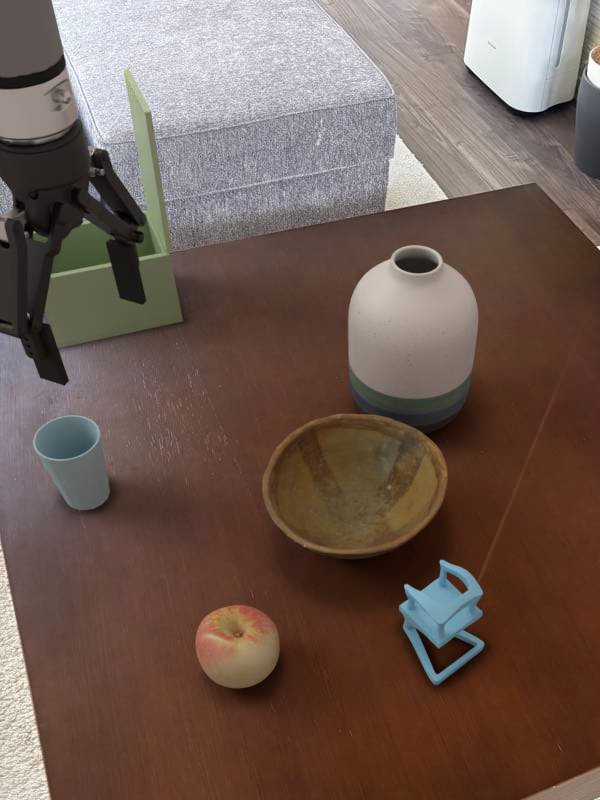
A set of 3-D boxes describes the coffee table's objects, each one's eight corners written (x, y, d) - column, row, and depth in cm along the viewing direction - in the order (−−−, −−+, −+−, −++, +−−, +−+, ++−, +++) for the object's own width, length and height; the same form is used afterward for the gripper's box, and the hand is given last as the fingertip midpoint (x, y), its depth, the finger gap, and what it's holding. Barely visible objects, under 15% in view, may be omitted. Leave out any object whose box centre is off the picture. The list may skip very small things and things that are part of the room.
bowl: (480, 537, 109) (490, 484, 101) (339, 635, 99) (337, 584, 91) (370, 441, 119) (371, 386, 111) (231, 522, 109) (221, 467, 101)
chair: (436, 602, 102) (444, 539, 93) (485, 648, 99) (498, 587, 89) (387, 638, 99) (390, 576, 90) (435, 687, 95) (444, 628, 86)
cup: (108, 465, 114) (88, 407, 106) (127, 504, 110) (108, 446, 102) (50, 485, 111) (26, 427, 103) (67, 525, 107) (43, 468, 99)
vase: (393, 352, 131) (399, 206, 112) (488, 398, 125) (511, 252, 107) (325, 414, 122) (318, 266, 103) (424, 466, 116) (437, 320, 98)
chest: (58, 349, 128) (34, 280, 119) (44, 300, 135) (21, 231, 126) (183, 322, 133) (170, 254, 124) (163, 276, 140) (149, 209, 131)
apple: (193, 648, 97) (182, 608, 91) (268, 623, 100) (262, 582, 93) (215, 712, 92) (204, 675, 86) (293, 684, 95) (289, 646, 89)
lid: (144, 112, 108) (151, 111, 108) (123, 69, 115) (129, 68, 116) (166, 252, 124) (172, 251, 124) (146, 206, 131) (151, 206, 131)
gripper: (-32, 211, 61) (52, 429, 77) (156, 71, 75) (192, 279, 92) (-118, 187, 62) (-18, 406, 79) (82, 54, 77) (131, 262, 94)
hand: (95, 338), depth 85 cm, fingers open, 13 cm apart
